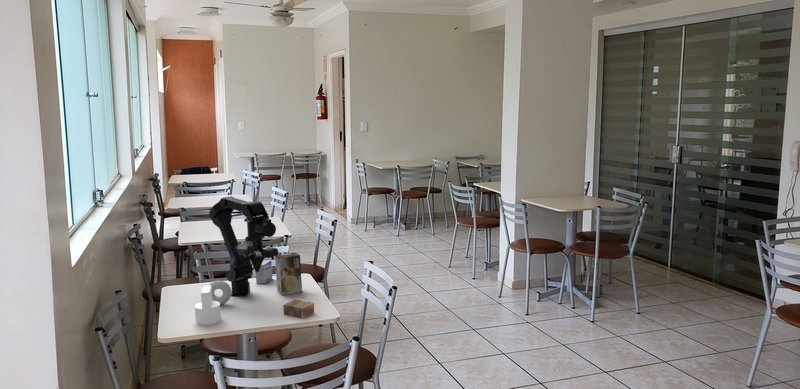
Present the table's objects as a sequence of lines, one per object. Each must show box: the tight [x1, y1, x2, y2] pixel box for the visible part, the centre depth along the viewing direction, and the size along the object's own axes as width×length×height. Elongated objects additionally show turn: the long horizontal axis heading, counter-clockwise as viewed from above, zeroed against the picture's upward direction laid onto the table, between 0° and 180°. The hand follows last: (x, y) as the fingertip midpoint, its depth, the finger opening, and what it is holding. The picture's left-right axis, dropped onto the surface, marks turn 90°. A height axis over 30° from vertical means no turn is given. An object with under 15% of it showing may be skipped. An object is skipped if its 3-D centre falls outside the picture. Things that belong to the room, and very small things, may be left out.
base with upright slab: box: [194, 284, 222, 326], centre depth 227 cm, size 9×9×12 cm
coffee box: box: [274, 251, 303, 296], centre depth 259 cm, size 9×6×16 cm
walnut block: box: [283, 298, 315, 319], centre depth 234 cm, size 4×7×9 cm
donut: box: [207, 280, 232, 306], centre depth 244 cm, size 10×4×10 cm, turn 101°
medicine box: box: [255, 259, 273, 285], centre depth 275 cm, size 8×4×9 cm, turn 168°
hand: (257, 271), depth 248 cm, fingers closed
